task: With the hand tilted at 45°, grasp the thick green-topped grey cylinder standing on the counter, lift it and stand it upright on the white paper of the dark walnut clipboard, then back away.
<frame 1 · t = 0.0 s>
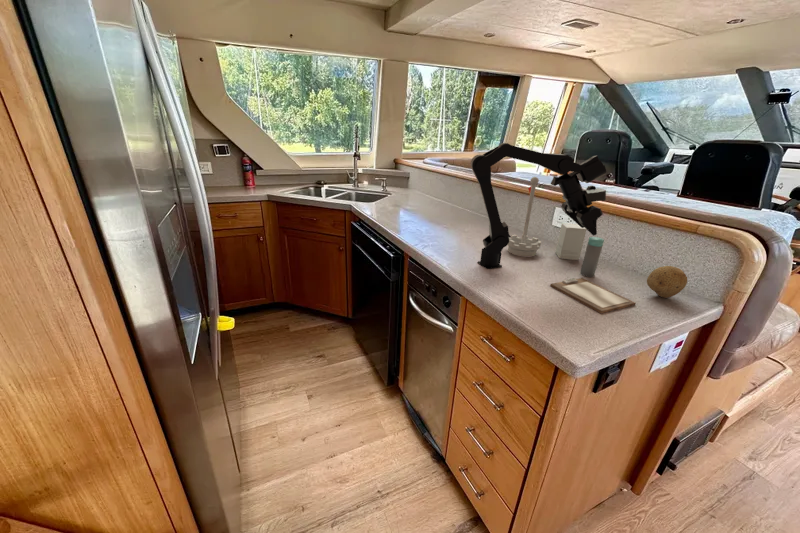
hand: (589, 231, 110), 15 cm above the worktop, tool tilted 35°, fingers open, 9 cm apart
supplement box: (566, 256, 130), on the worktop
green-topped grey cylinder: (586, 274, 114), on the worktop
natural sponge: (659, 297, 99), on the worktop
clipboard: (590, 295, 99), on the worktop
flag stand: (521, 252, 134), on the worktop
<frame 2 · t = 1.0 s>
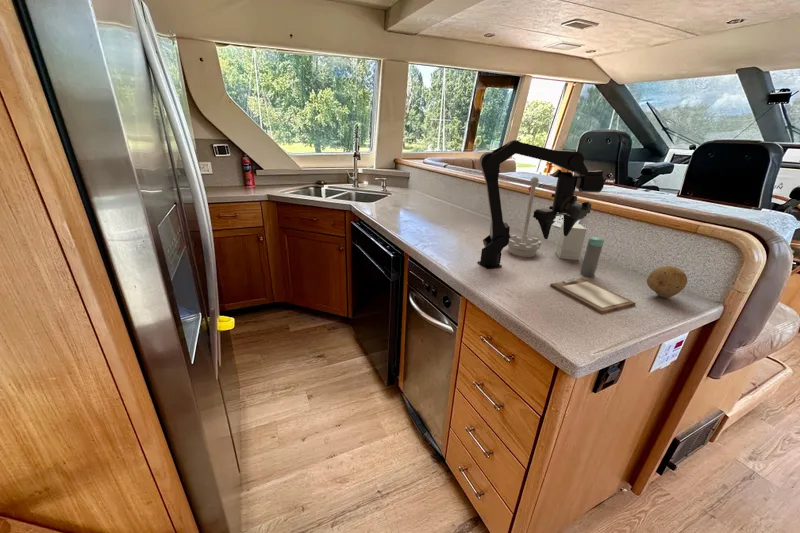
hand: (555, 237, 112), 12 cm above the worktop, tool pointing down, fingers open, 9 cm apart
nothing on the worktop moved.
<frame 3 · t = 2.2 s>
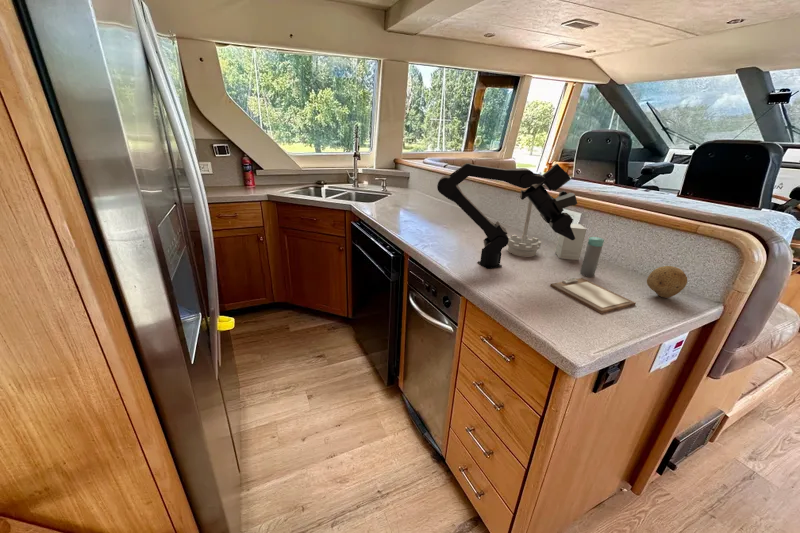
hand: (569, 235, 110), 13 cm above the worktop, tool tilted 45°, fingers open, 9 cm apart
nothing on the worktop moved.
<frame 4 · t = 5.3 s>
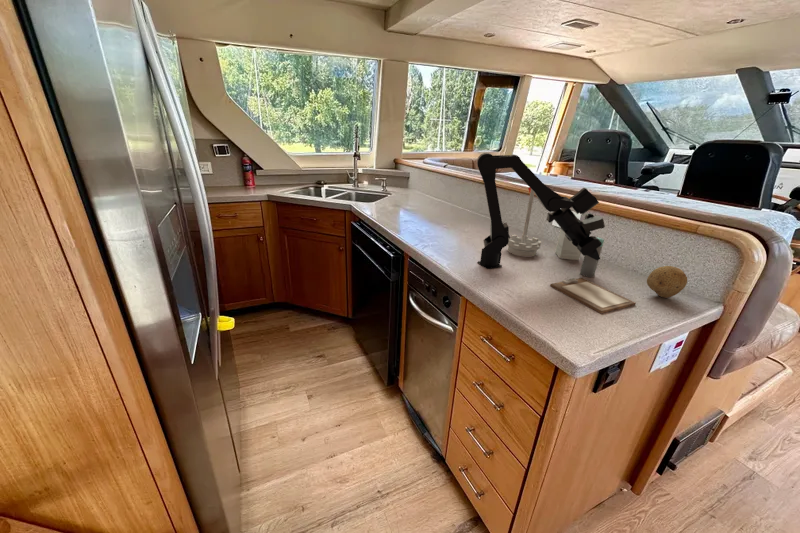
hand: (596, 257, 111), 7 cm above the worktop, tool tilted 45°, fingers closed on green-topped grey cylinder, 4 cm apart
green-topped grey cylinder: (587, 274, 114), on the worktop, touching gripper
everything else where it was.
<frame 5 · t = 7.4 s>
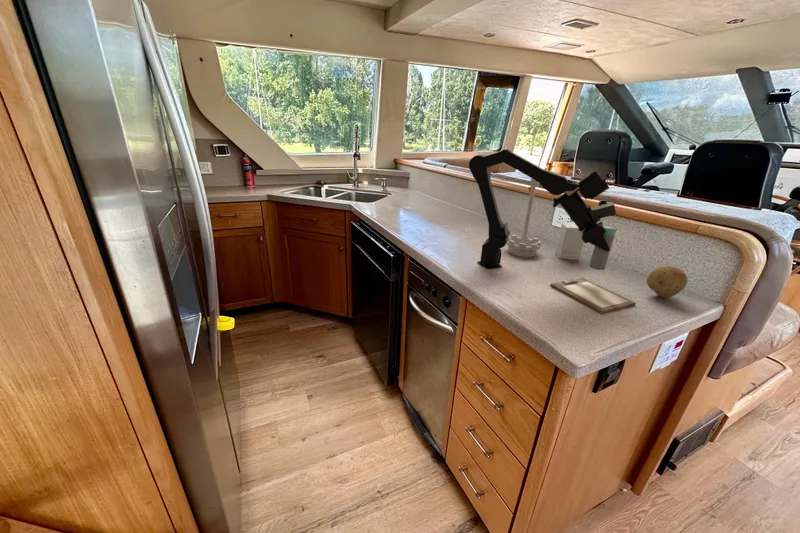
hand: (607, 248, 101), 12 cm above the worktop, tool tilted 45°, fingers closed on green-topped grey cylinder, 4 cm apart
green-topped grey cylinder: (596, 267, 104), point 6 cm above the worktop, touching gripper
everything else where it was.
when the fingers open (9 cm above the worktop, at t = 9.5 s): green-topped grey cylinder drops 1 cm, resting on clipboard.
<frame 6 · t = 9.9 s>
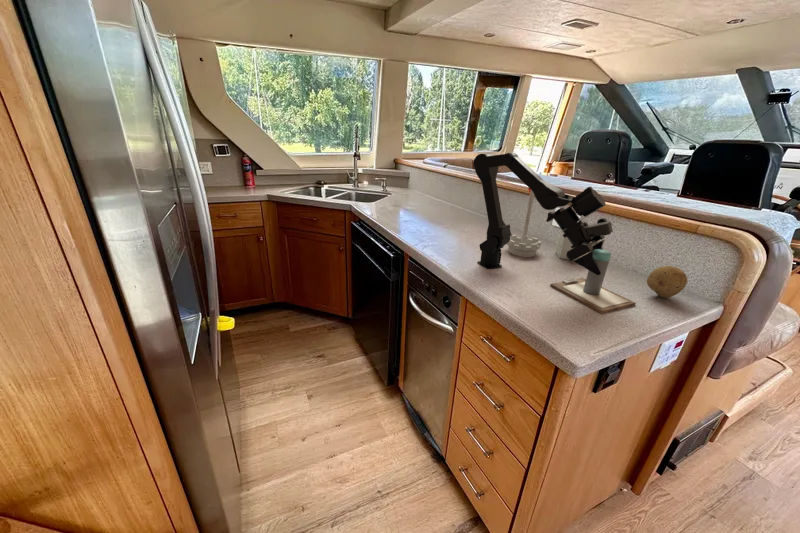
hand: (603, 269, 95), 9 cm above the worktop, tool tilted 45°, fingers open, 9 cm apart
green-topped grey cylinder: (591, 292, 99), point 1 cm above the worktop, touching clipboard
everything else where it was.
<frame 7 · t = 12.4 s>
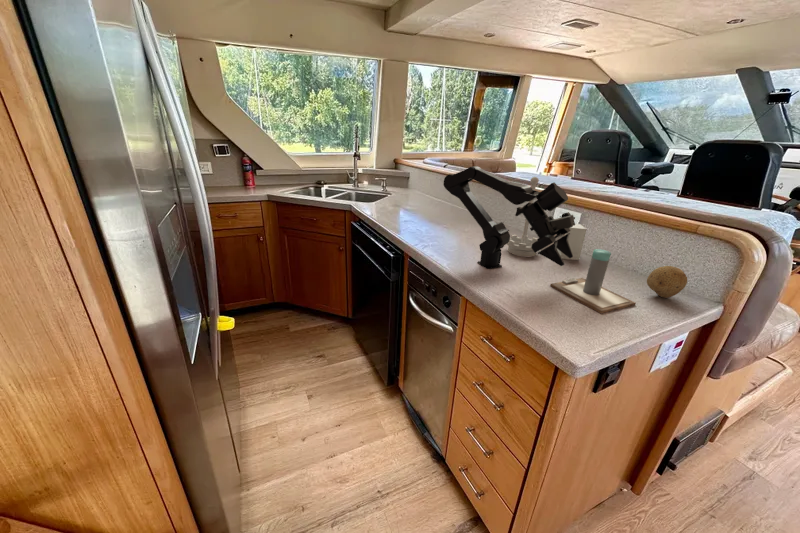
hand: (567, 261, 101), 9 cm above the worktop, tool tilted 45°, fingers open, 9 cm apart
nothing on the worktop moved.
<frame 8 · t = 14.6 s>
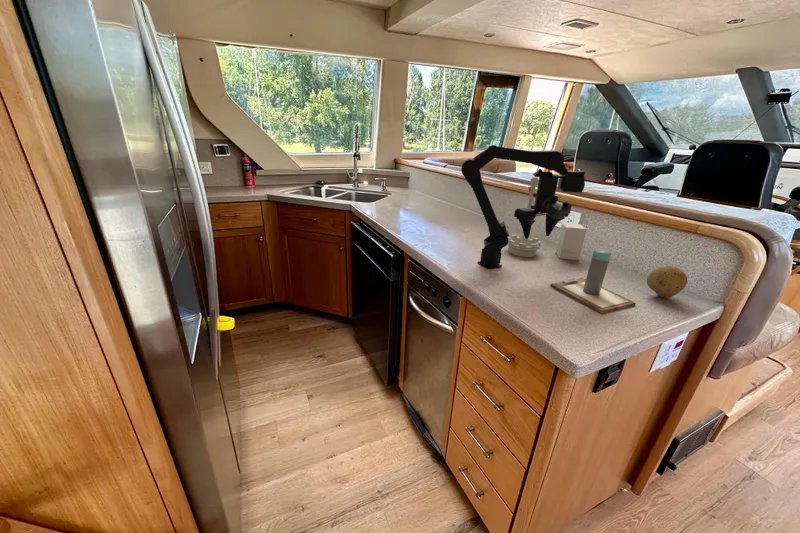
hand: (537, 237, 112), 12 cm above the worktop, tool pointing down, fingers open, 9 cm apart
nothing on the worktop moved.
at the end: green-topped grey cylinder inside the target area on the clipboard (0.5 cm from its centre), point 1.0 cm above the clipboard's base; green-topped grey cylinder tilted 1°; the gripper is holding nothing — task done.
